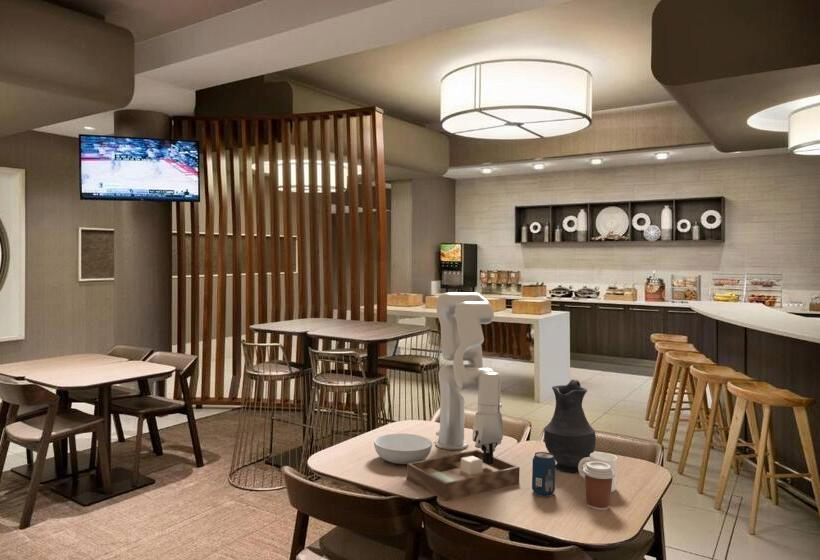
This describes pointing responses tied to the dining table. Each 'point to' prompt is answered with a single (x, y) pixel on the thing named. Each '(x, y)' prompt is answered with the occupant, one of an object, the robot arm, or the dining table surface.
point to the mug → (603, 458)
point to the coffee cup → (598, 484)
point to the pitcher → (569, 429)
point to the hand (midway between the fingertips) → (488, 463)
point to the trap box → (460, 475)
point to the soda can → (543, 474)
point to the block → (471, 465)
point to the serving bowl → (402, 447)
